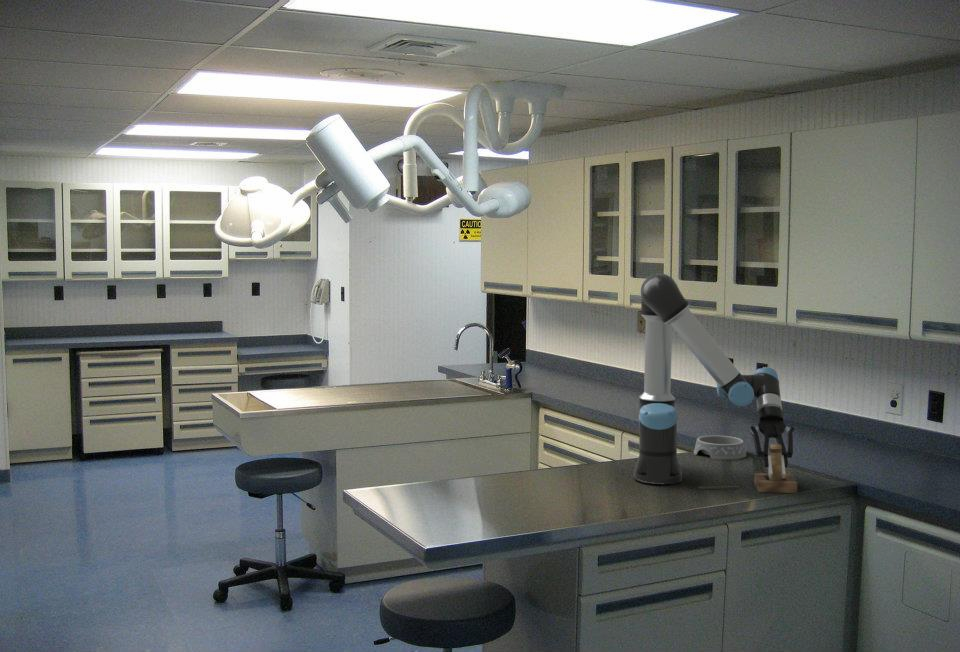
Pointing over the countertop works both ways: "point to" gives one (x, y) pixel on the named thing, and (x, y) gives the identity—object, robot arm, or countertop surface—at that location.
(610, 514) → the countertop surface
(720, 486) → the lace
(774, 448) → the wooden peg
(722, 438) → the dog bowl
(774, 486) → the square wooden tray
